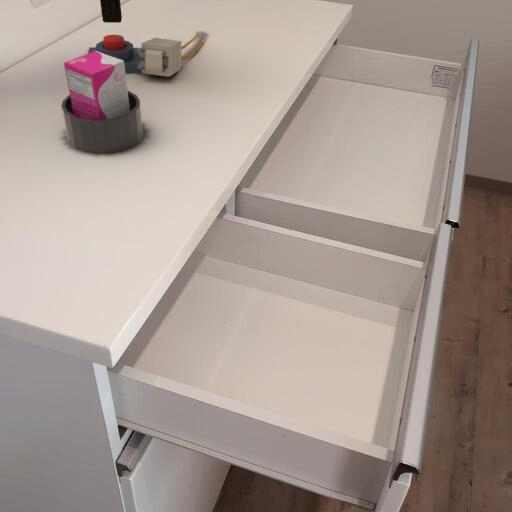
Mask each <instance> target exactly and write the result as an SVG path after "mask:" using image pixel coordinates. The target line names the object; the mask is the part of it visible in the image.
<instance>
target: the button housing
mask: <svg viewBox="0 0 512 512" xmlns="http://www.w3.org/2000/svg"><path fill="white" fill-rule="evenodd" d="M124 44H125V48H124V49H121V50H108V49H105V48H104V40H101V41H99V42H98V43H96V46H90V47H89V48H88V53H87V54H89V53H91V52H94V51H98V52H101V53H103V54H106V55H108V56H111V57H114V58H117V59H121V60H123V61H124V66H125V74H143V73H142V69H138V68H137V67H138V65H139V63H140V61H141V59H142V58H141V57H140V56H139V54H138V52H137V48H138V47H134V44H133V43H132V42H130V41H129V40H125V39H124ZM140 48H141V49H142V47H140Z"/></svg>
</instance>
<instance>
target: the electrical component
mask: <svg viewBox="0 0 512 512" xmlns="http://www.w3.org/2000/svg"><path fill="white" fill-rule="evenodd" d="M201 34H202V31H199V32H198V33H197V34H196V35H195V36H194V37H193V38H191V39H190V40H189V41H188V42H186V43H185V44H183V45H182V43H183V42H182V40H178V39H177V40H175V39H168V38H162V37H152V38H151V39H148V40H145V41H142V42H141V47H136V48H137V52H138V54H139V56H140V57H141V58H142V59H141V61H140V63H139V65H138V67H137V68H138V69H142V73H141V74H145V75H154V76H160V77H167V78H169V77H172V76H173V75H175V74H176V73H178V72H179V71H181V70H182V60H187V59H190V58H192V57H193V56H195V54H197V53H198V52H199V51H200V49H201V48H202V47H203V45H204V44H205V41H206V39H207V38H206V37H205V38H204V39H203V40H202V42H201V43H200V44H199V46H198V48H197V49H196V50H194V52H192V53H191V54H189V55H187V56H182V50H183V49H185V48H187V47H188V46H189V45H190V44H191V43H193V42H194V41H195V40H196V39H197V38H199V36H200V35H201ZM141 48H142V49H141Z"/></svg>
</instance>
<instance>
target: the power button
mask: <svg viewBox="0 0 512 512" xmlns="http://www.w3.org/2000/svg"><path fill="white" fill-rule="evenodd" d="M124 40H125V37H124V36H123V35H120V34H108V35H105V36H103V40H102V41H104V48H105V49H108V50H121V49H124V48H125V44H124Z"/></svg>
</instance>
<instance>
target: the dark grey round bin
mask: <svg viewBox="0 0 512 512" xmlns="http://www.w3.org/2000/svg"><path fill="white" fill-rule="evenodd" d="M128 98H129V106H130V112H129V113H127V114H125V115H122V116H119V117H116V118H110V119H95V120H93V119H86V118H81V117H78V116H75V115H74V113H73V107H72V102H71V97H70V94H68V95H67V96H66V97H65V98H64V99H63V100H62V101H61V102H62V103H61V113H62V118H63V122H64V128H65V134H66V139H67V141H68V143H69V145H70V146H72V147H73V148H74V149H76V150H77V151H81V152H83V153H87V154H88V153H89V154H94V155H109V154H116V153H121V152H124V151H126V150H129V149H131V148H133V147H135V146H136V145H137V144H139V143H140V141H141V140H142V139H143V136H144V135H143V133H144V132H143V120H142V108H141V100H140V98H139V97H138V95H137V94H136V93H134V92H132V91H131V90H128Z"/></svg>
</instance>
